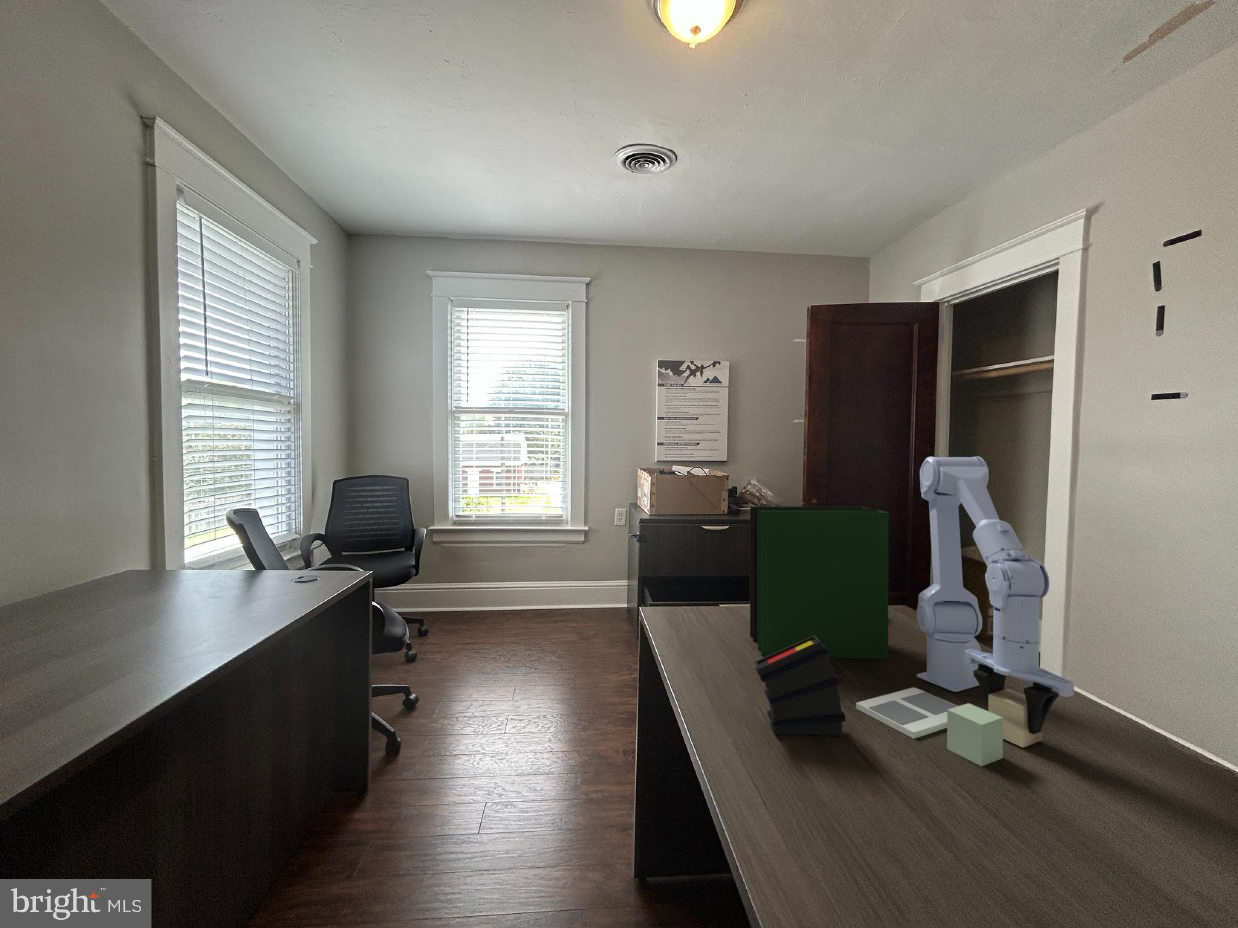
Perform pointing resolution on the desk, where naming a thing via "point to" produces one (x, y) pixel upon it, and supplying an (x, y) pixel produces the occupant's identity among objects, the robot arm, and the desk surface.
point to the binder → (820, 578)
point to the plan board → (909, 711)
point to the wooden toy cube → (1013, 716)
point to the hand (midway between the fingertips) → (1014, 723)
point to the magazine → (802, 690)
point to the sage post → (975, 734)
